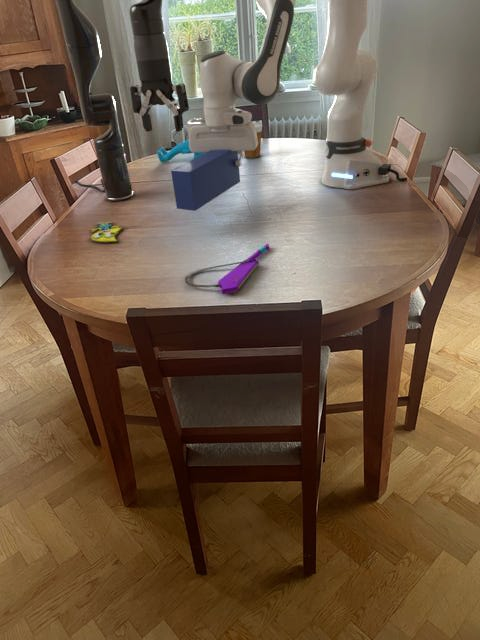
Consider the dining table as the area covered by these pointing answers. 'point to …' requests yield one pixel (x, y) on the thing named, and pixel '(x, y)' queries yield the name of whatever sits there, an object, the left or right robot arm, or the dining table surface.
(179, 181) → the box
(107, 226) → the toy
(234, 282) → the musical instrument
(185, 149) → the toy
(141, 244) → the dining table surface
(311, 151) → the dining table surface
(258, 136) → the glass of beer
